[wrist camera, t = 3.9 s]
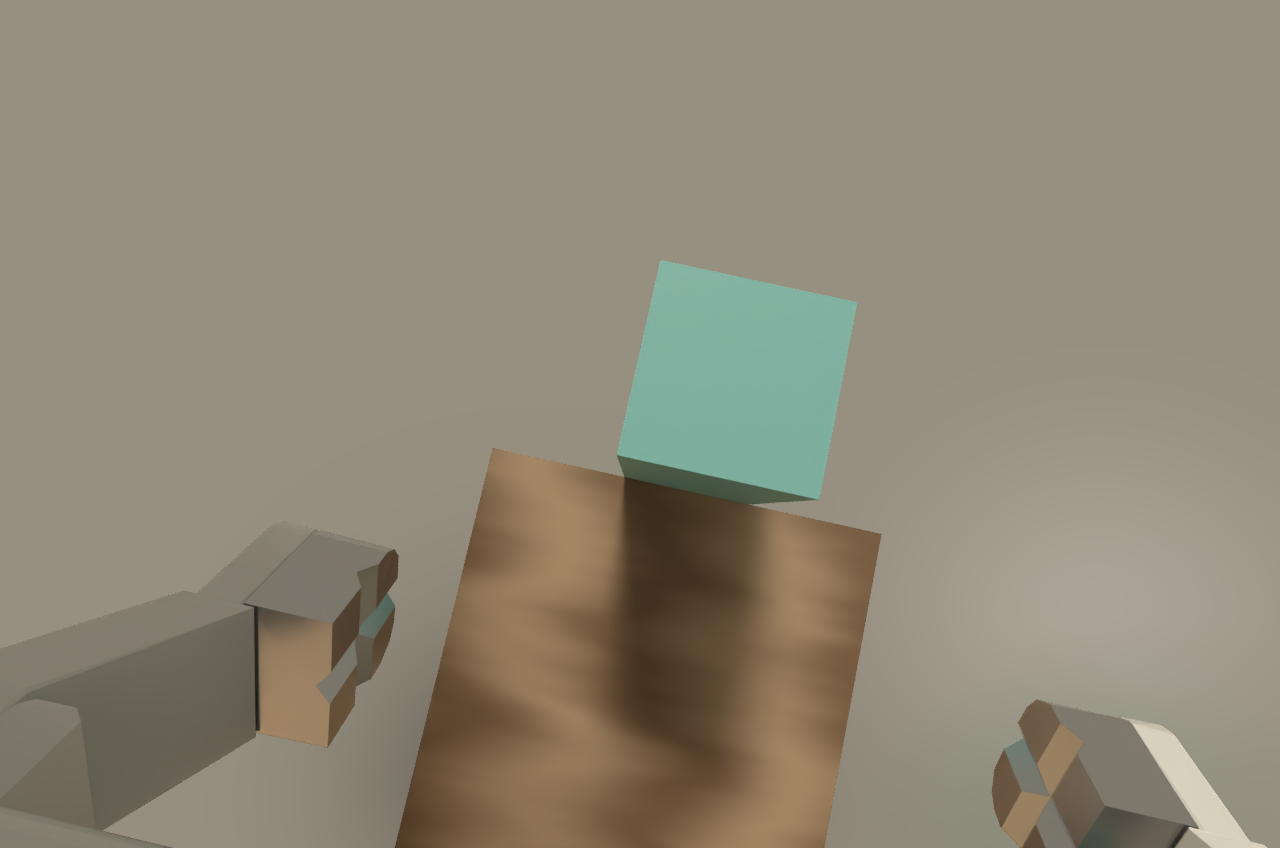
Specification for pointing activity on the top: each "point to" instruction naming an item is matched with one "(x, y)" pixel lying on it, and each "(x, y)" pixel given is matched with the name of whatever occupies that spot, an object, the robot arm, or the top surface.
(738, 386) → the teal carton
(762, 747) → the walnut stand
